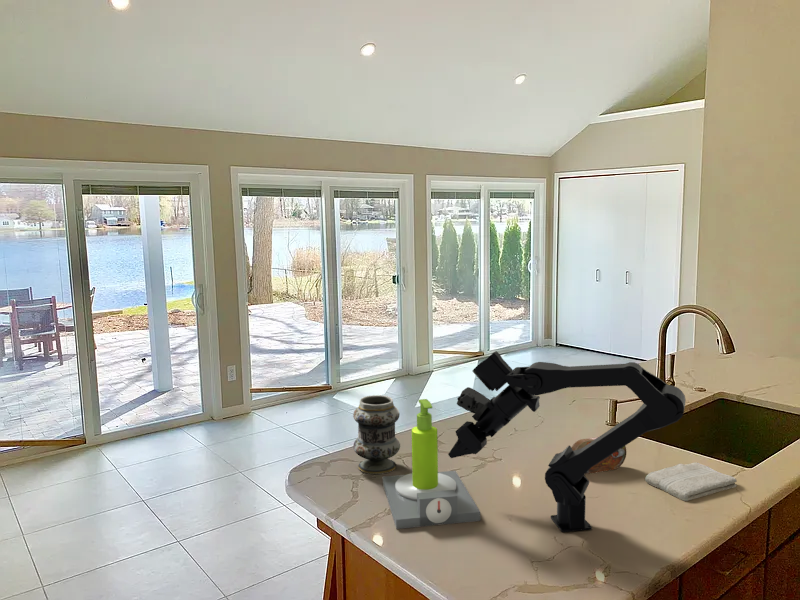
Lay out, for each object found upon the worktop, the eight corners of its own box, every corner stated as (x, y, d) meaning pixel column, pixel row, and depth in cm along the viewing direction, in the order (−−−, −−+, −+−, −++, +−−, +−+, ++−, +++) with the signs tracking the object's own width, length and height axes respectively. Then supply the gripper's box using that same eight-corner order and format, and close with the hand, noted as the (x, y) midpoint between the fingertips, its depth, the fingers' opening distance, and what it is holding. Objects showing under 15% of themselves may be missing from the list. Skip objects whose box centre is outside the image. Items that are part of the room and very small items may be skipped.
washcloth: (739, 488, 148) (740, 475, 147) (685, 505, 140) (686, 491, 140) (696, 470, 158) (696, 458, 158) (643, 484, 151) (644, 472, 150)
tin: (573, 476, 155) (574, 443, 154) (567, 471, 158) (567, 439, 157) (626, 468, 159) (627, 436, 158) (619, 463, 162) (620, 432, 161)
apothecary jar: (402, 475, 158) (400, 405, 155) (354, 477, 157) (351, 407, 154) (399, 456, 170) (397, 391, 167) (354, 458, 169) (352, 393, 166)
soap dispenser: (417, 492, 141) (415, 406, 138) (409, 480, 148) (408, 397, 145) (442, 489, 142) (441, 404, 140) (434, 477, 149) (433, 395, 146)
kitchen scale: (481, 521, 133) (480, 494, 132) (396, 529, 131) (396, 502, 130) (455, 478, 155) (455, 454, 154) (382, 484, 153) (382, 460, 152)
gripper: (493, 368, 145) (448, 409, 151) (464, 389, 128) (416, 434, 134) (526, 405, 142) (480, 445, 149) (502, 431, 126) (451, 475, 132)
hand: (457, 448), depth 141 cm, fingers open, 9 cm apart
